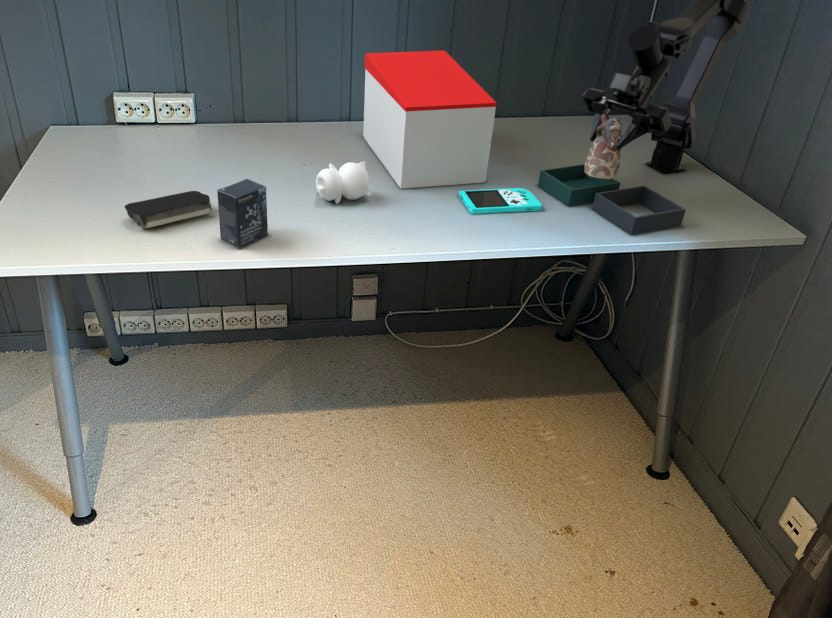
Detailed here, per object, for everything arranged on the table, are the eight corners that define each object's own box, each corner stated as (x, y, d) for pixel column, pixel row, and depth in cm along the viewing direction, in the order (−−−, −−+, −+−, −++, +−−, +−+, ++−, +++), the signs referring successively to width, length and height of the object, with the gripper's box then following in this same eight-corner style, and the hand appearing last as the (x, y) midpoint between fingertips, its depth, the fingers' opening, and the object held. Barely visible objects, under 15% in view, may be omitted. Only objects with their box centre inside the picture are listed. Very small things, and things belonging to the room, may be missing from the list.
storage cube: (436, 131, 197) (444, 50, 185) (485, 182, 170) (498, 90, 158) (362, 136, 193) (365, 53, 181) (400, 188, 166) (406, 94, 153)
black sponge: (139, 234, 145) (137, 217, 142) (125, 218, 150) (122, 201, 148) (215, 216, 152) (214, 200, 150) (199, 201, 158) (197, 185, 156)
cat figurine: (315, 161, 153) (370, 154, 155) (305, 171, 163) (357, 164, 166) (323, 203, 153) (377, 195, 156) (313, 211, 164) (363, 203, 167)
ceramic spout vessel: (600, 181, 155) (612, 125, 148) (576, 169, 160) (587, 114, 153) (624, 175, 158) (638, 119, 151) (601, 164, 163) (612, 109, 156)
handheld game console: (542, 210, 158) (543, 205, 157) (471, 214, 156) (471, 208, 155) (526, 192, 166) (527, 186, 165) (458, 195, 164) (458, 189, 163)
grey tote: (639, 201, 163) (644, 185, 161) (680, 225, 154) (686, 209, 151) (591, 209, 159) (595, 193, 157) (630, 235, 149) (635, 218, 147)
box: (239, 249, 141) (236, 197, 134) (220, 240, 143) (215, 189, 137) (269, 235, 145) (266, 185, 139) (249, 227, 148) (246, 177, 142)
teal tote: (584, 178, 173) (587, 163, 171) (616, 198, 164) (620, 182, 162) (537, 185, 169) (540, 170, 167) (568, 206, 160) (571, 190, 158)
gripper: (596, 47, 153) (555, 111, 153) (680, 66, 142) (636, 135, 142) (608, 79, 162) (570, 140, 162) (688, 100, 151) (646, 164, 151)
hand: (603, 144), depth 154 cm, fingers closed on ceramic spout vessel, 6 cm apart
